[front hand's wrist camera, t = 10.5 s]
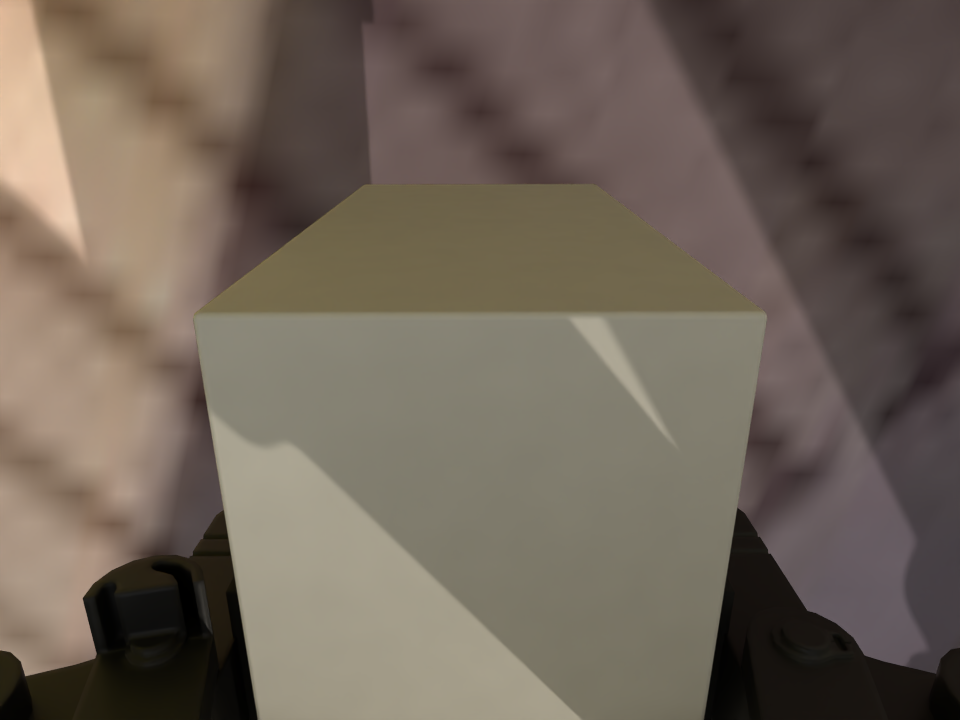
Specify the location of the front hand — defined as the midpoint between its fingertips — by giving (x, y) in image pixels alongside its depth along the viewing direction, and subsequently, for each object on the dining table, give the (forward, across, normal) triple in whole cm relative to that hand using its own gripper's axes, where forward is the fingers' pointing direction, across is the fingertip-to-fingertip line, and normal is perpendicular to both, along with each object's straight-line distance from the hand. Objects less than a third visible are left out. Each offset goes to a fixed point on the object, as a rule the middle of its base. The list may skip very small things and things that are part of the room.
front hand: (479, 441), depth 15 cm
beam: (+1, 0, -20) cm, 20 cm away
